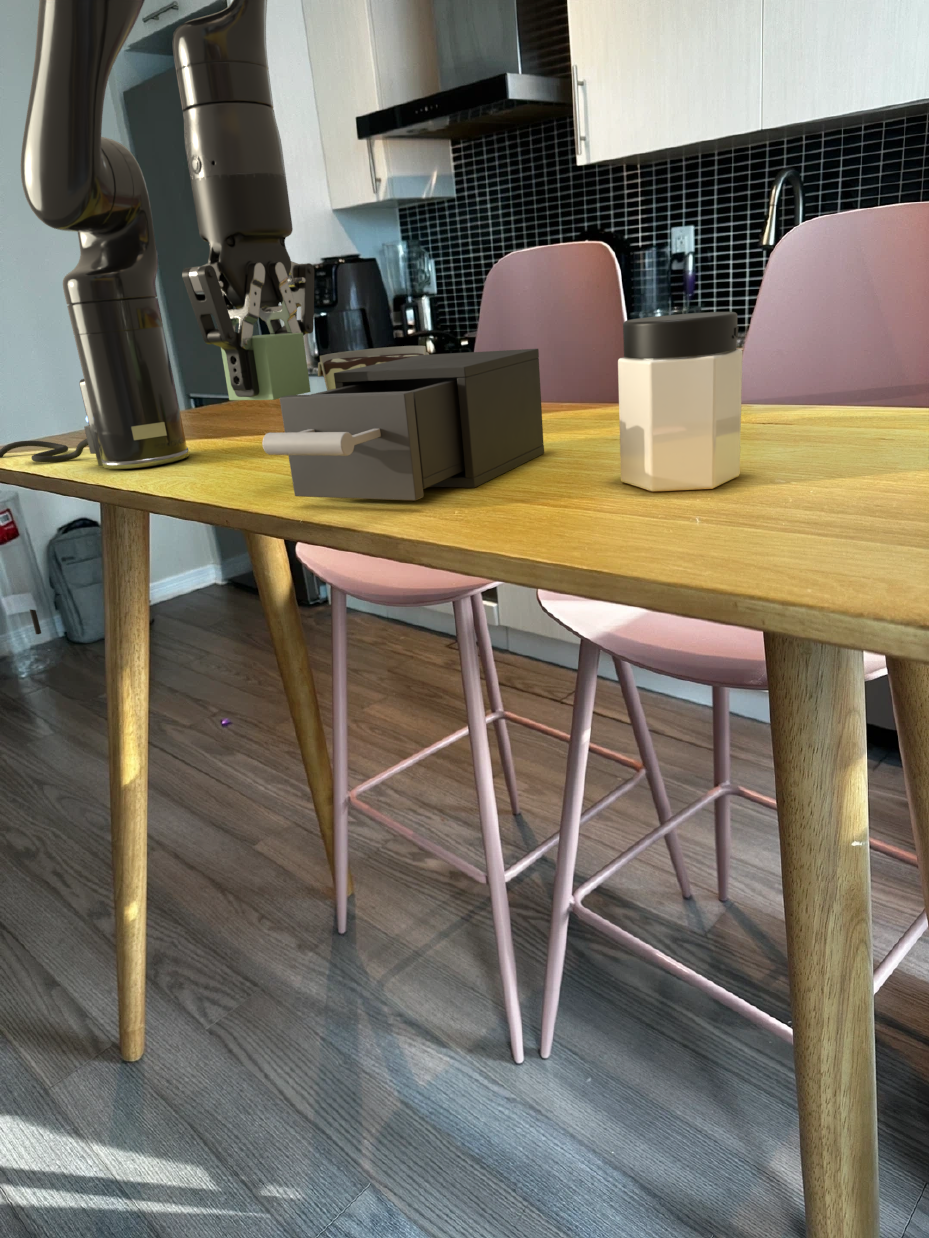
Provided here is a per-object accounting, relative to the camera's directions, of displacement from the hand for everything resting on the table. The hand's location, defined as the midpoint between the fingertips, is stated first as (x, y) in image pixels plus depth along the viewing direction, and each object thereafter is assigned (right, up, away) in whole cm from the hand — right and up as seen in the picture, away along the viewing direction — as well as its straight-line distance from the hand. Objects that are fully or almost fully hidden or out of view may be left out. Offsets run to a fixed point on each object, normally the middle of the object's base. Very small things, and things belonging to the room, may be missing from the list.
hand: (269, 391), depth 77 cm
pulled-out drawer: (+10, -9, -5) cm, 15 cm away
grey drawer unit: (+16, -6, +4) cm, 17 cm away
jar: (+34, -9, -8) cm, 36 cm away
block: (0, 0, 0) cm, 0 cm away
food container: (+9, 0, +22) cm, 23 cm away
